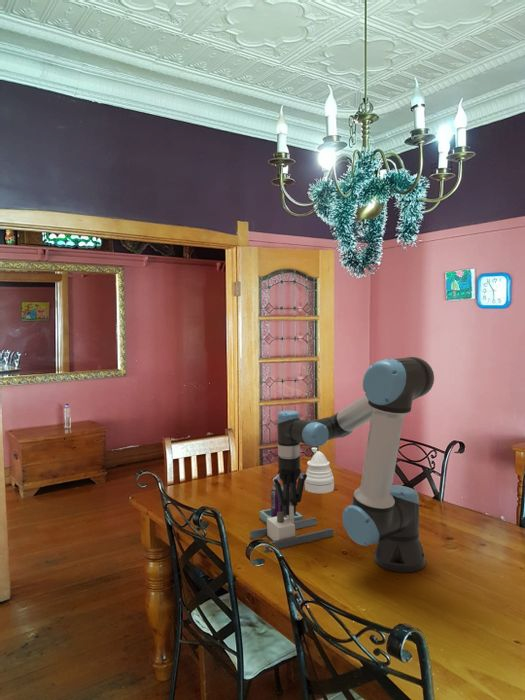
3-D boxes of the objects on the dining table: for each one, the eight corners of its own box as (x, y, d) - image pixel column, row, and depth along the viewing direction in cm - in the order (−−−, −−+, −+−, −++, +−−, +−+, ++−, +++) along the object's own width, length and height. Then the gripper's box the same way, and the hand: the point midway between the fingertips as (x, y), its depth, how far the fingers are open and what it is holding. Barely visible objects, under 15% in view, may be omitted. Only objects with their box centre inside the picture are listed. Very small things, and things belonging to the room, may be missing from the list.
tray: (303, 523, 188) (302, 516, 188) (273, 530, 183) (273, 522, 183) (287, 513, 199) (287, 505, 199) (259, 518, 194) (259, 511, 194)
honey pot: (301, 491, 224) (300, 451, 223) (309, 482, 236) (309, 444, 235) (329, 494, 219) (329, 453, 218) (337, 485, 231) (336, 446, 230)
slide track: (333, 536, 177) (333, 529, 177) (265, 552, 166) (265, 544, 166) (314, 523, 188) (314, 517, 188) (250, 537, 177) (250, 530, 177)
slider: (295, 542, 172) (294, 515, 172) (279, 545, 170) (278, 519, 169) (282, 531, 181) (281, 506, 180) (267, 535, 178) (266, 509, 178)
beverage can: (288, 523, 187) (288, 491, 186) (269, 522, 188) (269, 490, 187) (291, 516, 194) (291, 485, 193) (273, 515, 195) (272, 484, 194)
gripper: (300, 451, 181) (301, 516, 183) (267, 456, 176) (268, 523, 177) (311, 456, 175) (312, 523, 176) (276, 461, 169) (278, 531, 170)
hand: (290, 523), depth 177 cm, fingers closed
